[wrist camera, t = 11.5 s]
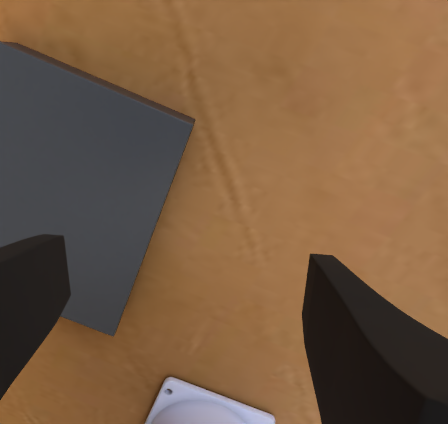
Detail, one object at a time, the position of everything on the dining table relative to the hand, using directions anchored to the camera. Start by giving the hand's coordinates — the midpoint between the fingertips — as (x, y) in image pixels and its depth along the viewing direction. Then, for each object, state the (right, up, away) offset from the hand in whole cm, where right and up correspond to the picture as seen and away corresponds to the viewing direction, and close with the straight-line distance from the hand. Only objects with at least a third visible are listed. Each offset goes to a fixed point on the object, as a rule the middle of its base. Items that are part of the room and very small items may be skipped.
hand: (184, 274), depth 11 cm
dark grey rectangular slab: (-7, +3, +11) cm, 13 cm away
